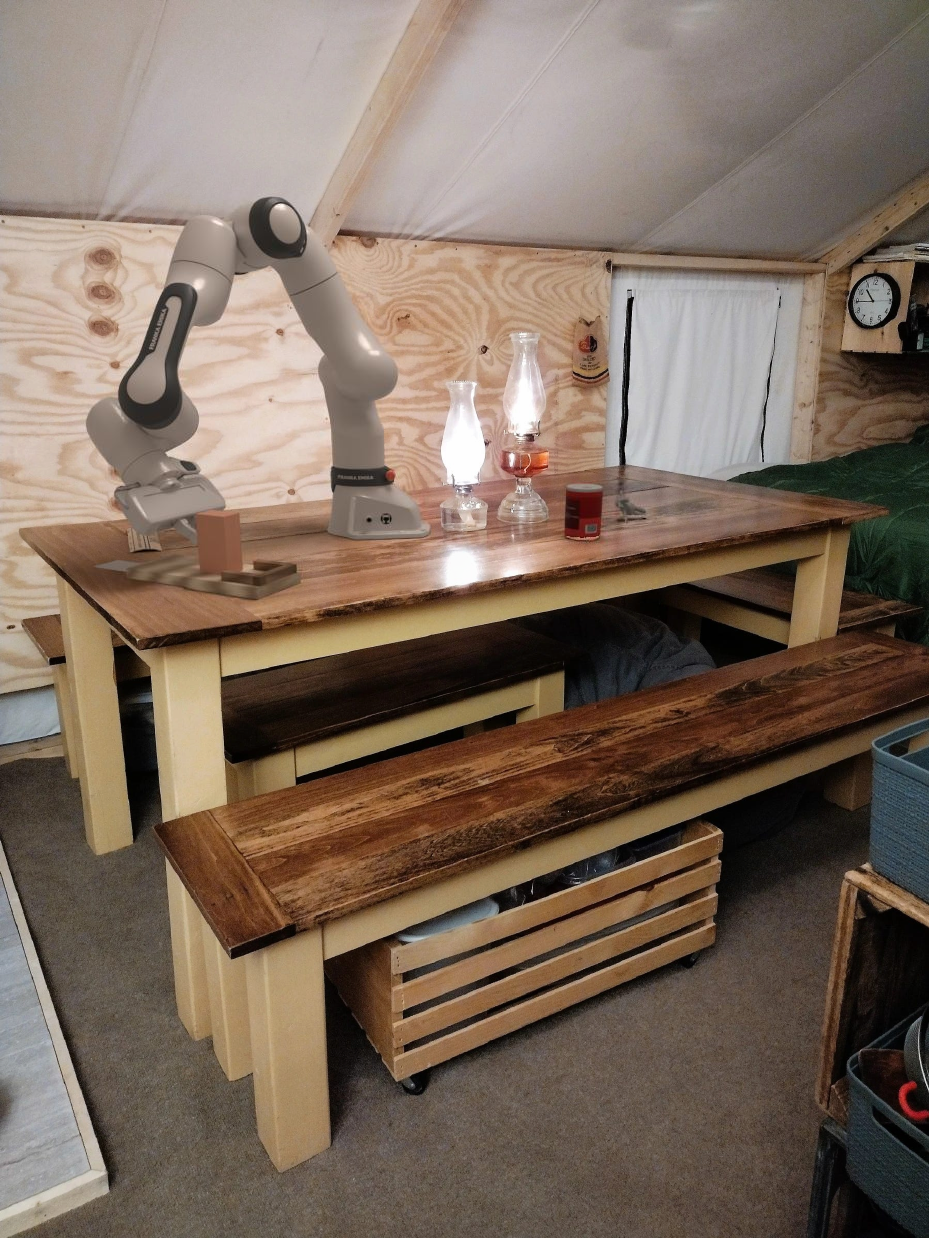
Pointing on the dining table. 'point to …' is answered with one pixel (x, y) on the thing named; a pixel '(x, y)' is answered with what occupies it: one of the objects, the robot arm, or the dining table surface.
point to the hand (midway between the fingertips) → (202, 541)
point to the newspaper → (142, 541)
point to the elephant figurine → (628, 506)
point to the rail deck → (219, 576)
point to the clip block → (219, 541)
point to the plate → (117, 565)
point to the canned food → (583, 510)
